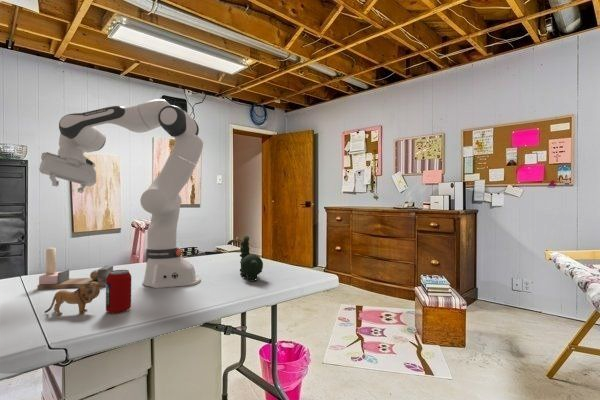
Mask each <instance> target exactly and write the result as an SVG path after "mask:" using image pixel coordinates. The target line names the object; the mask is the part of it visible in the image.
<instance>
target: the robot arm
mask: <svg viewBox="0 0 600 400" xmlns="http://www.w3.org/2000/svg"><path fill="white" fill-rule="evenodd" d="M106 124H111V125H117V126H120V127H121V128H125V129H126V130H129V131H131V132H132V133H137V134H139V133H147V132H149V131H152V130H154V129H157V128H159V127H161V128H162V129H163V130H164V131H165V132H167V134H168V135H170V136H171V137H172V138H174V145H173V148H172V150H171V151H170V153H169V156H168V157H167V160H166V161H165V163H164V165H163V167H162V169H161V170H160V172H159V173H158V175H157V176H156V177H155V179H154V180H153V181H152V182H151V184H150V186H148V188H147V189H146V190H145V191H144V192H143V193H142V194H141V196H140V199H139V200H140V201H139V202H140V205H141V208H142V209H143V210H144V211H146V212H147V213H149V214H151V216H150V217H151V218H150V222H149V224H148V225H149V226H148V227H147V239H146V240H147V241H146V243H147V244H146V249H145V263H146V264H145V271H144V277H143V280H142V283H141V284H142V285H143V286H145V287H146V286H147V287H151V288H154V289H161V288H172V287H184V286H195V285H197V284H200V283H201V281H202V279H201V276H199V275H197V274H196V270H195V267H194V265H193V263H191V262H189V261H188V260H187V259H185V258H184V257H183V256H182V248H179V247H178V246H177V231H178V230H177V228H178V222H179V217H180V210H181V205H182V197H181V195H180V193H181V191H182V190H183V188H184V187H185V186H186V184H188V182H189V180H190V179H191V176H192V175H193V172H194V170H195V169H196V165H197V164H198V163H199V159H200V157H201V155H202V151H203V148H204V141H203V140H202V139H201V137H199V136H198V135H199V132H200V128H199V125H198V123H197V121H196V120H195V119H194V118H193V117H192V116H191V115H190V114H189V113H188V112H187V111H185V110H183V109H182V108H181V107H180V106H177V105H174V104H173V105H172V104H170V103H169V102H168V101H167V100H165V99H163V98H161V99H160V98H158V99H153V100H149V101H146V102H142V103H139V104H137V105H129V106H120V105H113V106H107V107H102V108H98V109H94V110H89V111H84V112H78V113H77V112H74V113H69V114H65V115H63V116H62V117H61V118H60V120H59V121H58V129H59V132H60V134H59V139H58V146H59V149H58V151H57V154H55V153H52V152H49V151H47V152H46V151H45V152H42V153H41V158H40V159H41V162H40V165H39V167H38V169H39V172H40V173H41V174H42V175H47V176H49V179H50V181H51V185H52V187H58V186H60V185H59V184H60V181H59V180H57V179H62V180H64V181H68V182H72V183H76V184H79V185H80V187H78V188H77V193H80V194H83V193H84V191H85V187H93V186H94V185H95V184H96V183H97V172H96V169H95V168H96V163H95V162H94V161H92V160H91V159H89V158H87V156H85V155H84V153H94V152H97V151H100V150H102V149H103V148H104V146H105V145H106V141H107V140H106V139H107V138H106V134H104V133H103V131H101V130H99V129H98V127H97V126H100V125H106Z"/></svg>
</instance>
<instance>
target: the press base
mask: <svg viewBox="0 0 600 400" xmlns="http://www.w3.org/2000/svg"><path fill="white" fill-rule="evenodd" d="M110 271H114V265H104V266H102V267H100V268H99V269H96V270H93V271H91V272H90V274H89V276H90V277H81V278H80V277H79V278H78V277H77V278H74V277H73V278H69V279H68V280H66V281H64V282H62V283H58V284H39V283H38V284H37V286H36V287H37V290H52V289H54V290H56V289H57V290H58V289H59V290H60V289H76V288H77V289H78V288H80V287H83V286H84V285H86V284H88V283H90V282H96V283H98V284H99V287H100V288H104V287H105V288H106V278H107V276H108V274H109V272H110Z"/></svg>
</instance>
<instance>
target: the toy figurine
mask: <svg viewBox="0 0 600 400" xmlns="http://www.w3.org/2000/svg"><path fill="white" fill-rule="evenodd" d="M242 240H243V241H241V243H240V245H241V247H240V248H239V250H240V251H241V253H240V254H239V257H240V262H239V263H240V268H239V272H240V274H239V275H240V276H241V277H242V278H243V277H244V278H246V279H247V281H249V280H255V279H257V280H258V277H259V276H257V275H260V274H261V273H263V268H264V263H263V260H262V258H261V257H260V256H259V255H257V254H251V252H250V250H251V249H250V247H249V245H250V242H249V241H250V237H249V236H248V235H245V236H243V239H242ZM255 281H256V280H255Z"/></svg>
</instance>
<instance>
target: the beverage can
mask: <svg viewBox="0 0 600 400" xmlns="http://www.w3.org/2000/svg"><path fill="white" fill-rule="evenodd" d="M131 307H132V274H131V273H130V271H129V269H115V270H114V269H113V271H110V272H109V274H108V276H107V278H106V287H105V312H108V313H109V314H114V315H115V314H122V313H125V312H127V311H128V310H130V309H131Z"/></svg>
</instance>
